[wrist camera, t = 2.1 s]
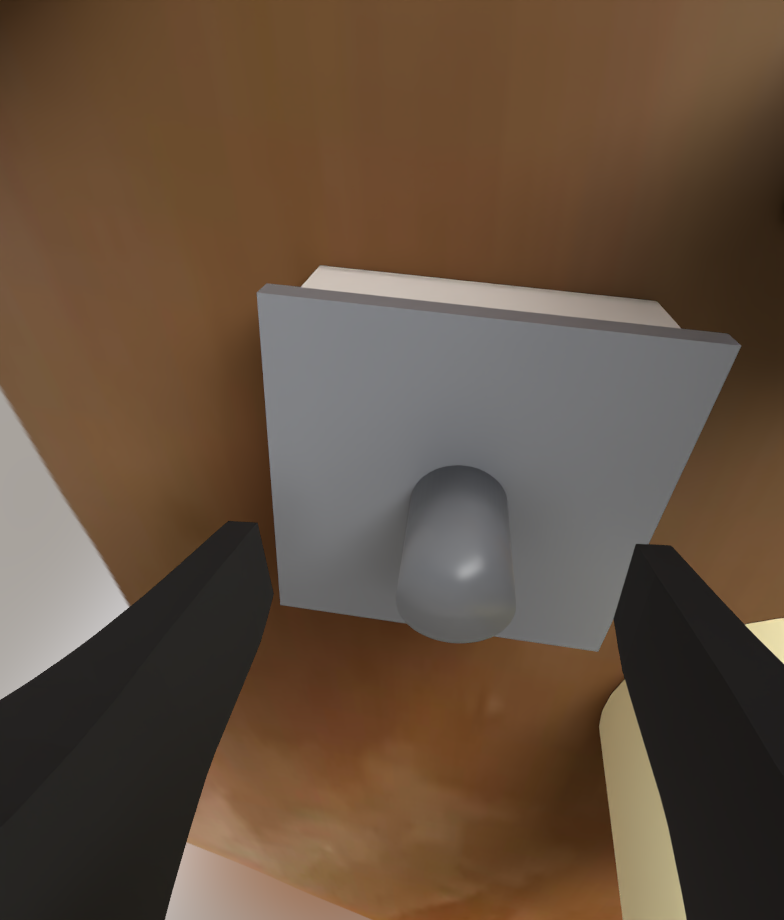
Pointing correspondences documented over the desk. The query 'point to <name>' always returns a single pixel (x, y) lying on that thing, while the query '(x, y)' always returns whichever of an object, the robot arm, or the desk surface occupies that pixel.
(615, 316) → the white open box
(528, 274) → the desk surface
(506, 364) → the gray lid
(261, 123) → the desk surface
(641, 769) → the cone light
